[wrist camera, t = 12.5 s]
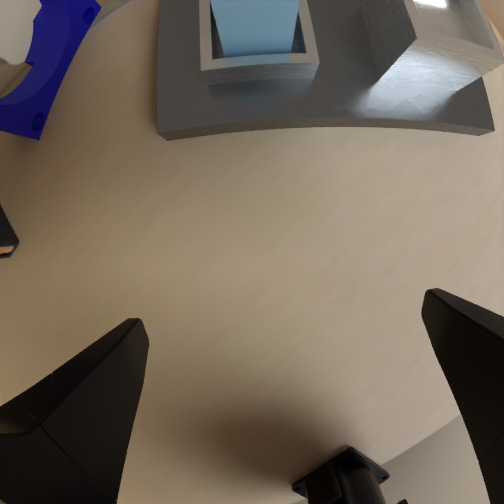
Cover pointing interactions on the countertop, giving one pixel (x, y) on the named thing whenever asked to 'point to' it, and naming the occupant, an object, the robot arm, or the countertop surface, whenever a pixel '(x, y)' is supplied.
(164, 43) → the grey peg holder base
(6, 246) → the ammunition clip
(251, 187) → the countertop surface
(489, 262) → the countertop surface
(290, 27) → the plug
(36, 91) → the cable clip
